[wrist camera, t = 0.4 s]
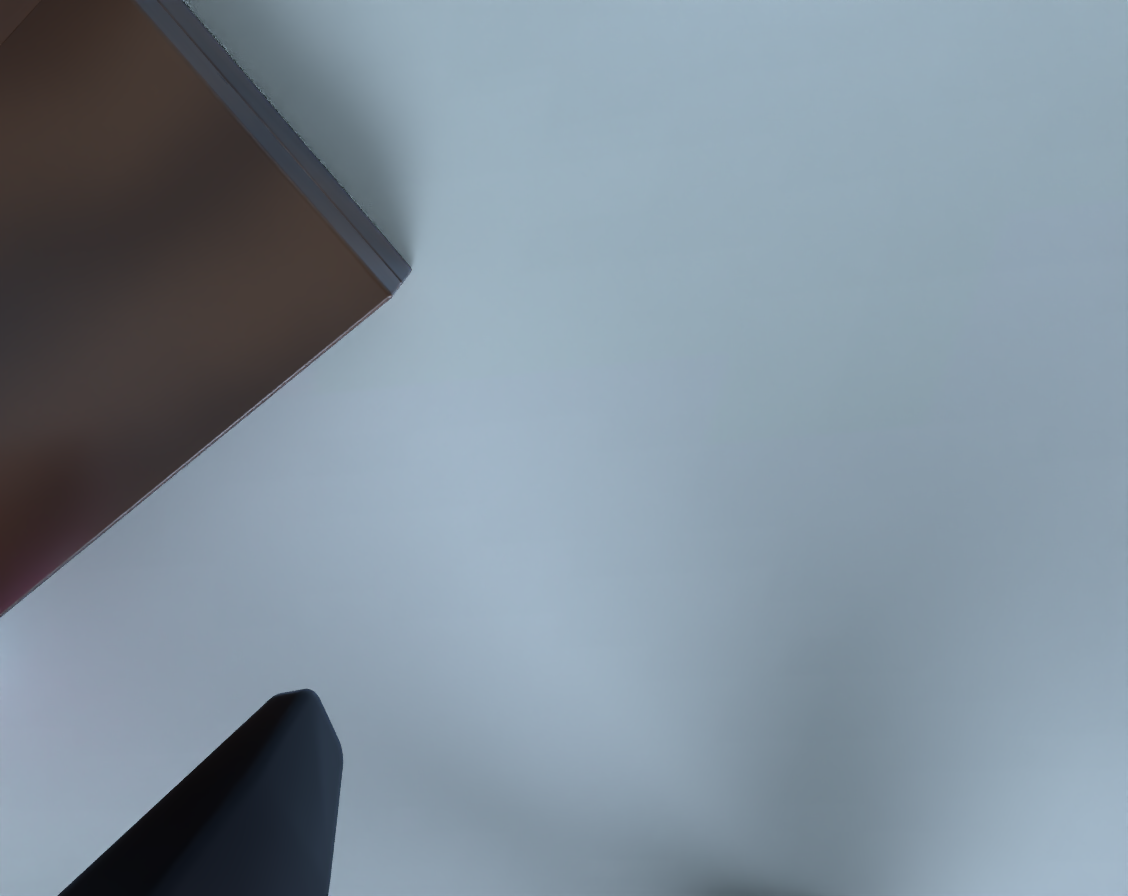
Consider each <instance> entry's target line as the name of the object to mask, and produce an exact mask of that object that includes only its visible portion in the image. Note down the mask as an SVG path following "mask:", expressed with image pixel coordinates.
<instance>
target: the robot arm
mask: <svg viewBox="0 0 1128 896" xmlns="http://www.w3.org/2000/svg"><path fill="white" fill-rule="evenodd" d="M342 770H343V753H342V748H341V744H340V741H339V739H338V737H337V735H336V732H335V730H334V728H333V726H332V724H331V722H330V720H329V717H328V715H327V713H326V711H325V709H324V707H323V704H322V702H321V700H320V698H319V697H318V695H317V694H316V693H315V692H314V691H312V690H310V689H302V690H296V691H291V692H285V693H280V694H277V695H275V696H273V697H272V698H271V699H269V700H268V701H267V702H266V703H265V704H264V705H263V706H262V707H261V708H260V709H259V710H258V711H257V712H255V713H254V714H253V715H252V716H251V717H250V718H249V719H248V720H247V721H246V722H245V723H244V724H242V725H241V726H240V727H239V728H238V729H237V730H236V731H235V732H234V733H233V734H232V735H231V736H230V737H228V738H227V739H226V740H225V741H224V742H223V743H222V744H221V745H220V746H219V747H218V748H217V749H216V750H214V751H213V752H212V753H211V754H210V755H209V756H208V757H207V758H206V759H205V760H204V761H203V762H201V763H200V764H199V765H198V766H197V767H196V768H195V769H194V770H193V771H192V772H191V773H190V774H188V775H187V776H186V777H185V778H184V779H183V780H182V781H181V782H180V783H179V784H178V785H177V786H176V787H174V788H173V789H172V790H171V791H170V792H169V793H168V794H167V795H166V796H165V797H164V798H163V799H161V800H160V801H159V802H158V803H157V804H156V805H155V806H154V807H153V808H152V809H151V810H150V811H149V812H147V813H146V814H145V815H144V816H143V817H142V818H141V819H140V820H139V821H138V822H137V823H136V824H134V825H133V826H132V827H131V828H130V829H129V830H128V831H127V832H126V833H125V834H124V835H123V836H122V837H120V838H119V839H118V840H117V841H116V842H115V843H114V844H113V845H112V846H111V847H110V848H109V849H107V850H106V851H105V852H104V853H103V854H102V855H101V856H100V857H99V858H98V859H97V860H96V861H95V862H93V863H92V864H91V865H90V866H89V867H88V868H87V869H86V870H85V871H84V872H83V873H82V874H80V875H79V876H78V877H77V878H76V879H75V880H74V881H73V882H72V883H71V884H70V885H69V886H68V887H66V888H65V889H64V890H63V891H62V892H61V893H60V894H59V895H58V896H328V892H329V885H330V878H331V869H332V860H333V851H334V842H335V833H336V824H337V815H338V806H339V797H340V788H341V779H342Z"/></svg>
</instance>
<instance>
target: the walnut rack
mask: <svg viewBox="0 0 1128 896" xmlns="http://www.w3.org/2000/svg"><path fill="white" fill-rule="evenodd" d="M411 271H412V269H411V267H410V266H409V265H408V264H407V263H406V261H405V260H404V259H403V258H402V257H401V255H400V254H399V253H398V252H397V251H396V250H395V248H394V247H393V246H392V245H391V244H390V243H389V241H388V240H387V239H386V238H385V237H384V236H383V234H382V233H381V232H380V231H379V230H378V229H377V227H376V226H375V225H374V224H373V223H372V222H371V220H370V219H369V218H368V217H367V216H366V215H365V213H364V212H363V211H362V210H361V209H360V208H359V206H358V205H357V204H356V203H355V202H354V201H353V199H352V198H351V197H350V196H349V195H348V194H347V192H346V191H345V190H344V189H343V188H342V187H341V185H340V184H339V183H338V182H337V181H336V180H335V178H334V177H333V176H332V175H331V174H330V173H329V171H328V170H327V169H326V168H325V167H324V166H323V164H322V163H321V162H320V161H319V160H318V159H317V157H316V156H315V155H314V154H313V153H312V152H311V150H310V149H309V148H308V147H307V146H306V145H305V143H304V142H303V141H302V140H301V139H300V138H299V136H298V135H297V134H296V133H295V132H294V131H293V129H292V128H291V127H290V126H289V125H288V124H287V122H286V121H285V120H284V119H283V118H282V117H281V115H280V114H279V113H278V112H277V111H276V109H275V108H274V107H273V106H272V105H271V104H270V102H269V101H268V100H267V99H266V98H265V97H264V95H263V94H262V93H261V92H260V91H259V90H258V88H257V87H256V86H255V85H254V84H253V83H252V81H251V80H250V79H249V78H248V77H247V76H246V74H245V73H244V72H243V71H242V70H241V69H240V67H239V66H238V65H237V64H236V63H235V62H234V60H233V59H232V58H231V57H230V56H229V55H228V53H227V52H226V51H225V50H224V49H223V48H222V46H221V45H220V44H219V43H218V42H217V41H216V39H215V38H214V37H213V36H212V35H211V34H210V32H209V31H208V30H207V29H206V28H205V27H204V25H203V24H202V23H201V22H200V21H199V20H198V18H197V17H196V16H195V15H194V14H193V13H192V11H191V10H190V9H189V8H188V7H187V6H186V4H185V3H184V2H183V1H182V0H0V618H1V617H2V616H3V615H4V614H5V613H7V612H8V611H9V610H10V609H12V608H13V607H14V606H15V605H16V604H18V603H19V602H20V601H21V600H23V599H24V598H25V597H26V596H27V595H29V594H30V593H31V592H32V591H34V590H35V589H36V588H37V587H38V586H40V585H41V584H42V583H43V582H45V581H46V580H47V579H48V578H49V577H51V576H52V575H53V574H54V573H56V572H57V571H58V570H59V569H60V568H62V567H63V566H64V565H65V564H67V563H68V562H69V561H70V560H71V559H73V558H74V557H75V556H76V555H78V554H79V553H80V552H81V551H82V550H84V549H85V548H86V547H87V546H89V545H90V544H91V543H92V542H93V541H95V540H96V539H97V538H98V537H100V536H101V535H102V534H103V533H105V532H106V531H107V530H108V529H109V528H111V527H112V526H113V525H114V524H116V523H117V522H118V521H119V520H120V519H122V518H123V517H124V516H125V515H127V514H128V513H129V512H130V511H131V510H133V509H134V508H135V507H136V506H138V505H139V504H140V503H141V502H142V501H144V500H145V499H146V498H147V497H149V496H150V495H151V494H152V493H153V492H155V491H156V490H157V489H158V488H160V487H161V486H162V485H163V484H164V483H166V482H167V481H168V480H169V479H171V478H172V477H173V476H174V475H175V474H177V473H178V472H179V471H180V470H182V469H183V468H184V467H185V466H186V465H188V464H189V463H190V462H191V461H193V460H194V459H195V458H196V457H197V456H199V455H200V454H201V453H202V452H204V451H205V450H206V449H207V448H208V447H210V446H211V445H212V444H213V443H215V442H216V441H217V440H218V439H219V438H221V437H222V436H223V435H224V434H226V433H227V432H228V431H229V430H230V429H232V428H233V427H234V426H235V425H237V424H238V423H239V422H240V421H242V420H243V419H244V418H245V417H246V416H248V415H249V414H250V413H251V412H253V411H254V410H255V409H256V408H257V407H259V406H260V405H261V404H262V403H264V402H265V401H266V400H267V399H268V398H270V397H271V396H272V395H273V394H275V393H276V392H277V391H278V390H279V389H281V388H282V387H283V386H284V385H286V384H287V383H288V382H289V381H290V380H292V379H293V378H294V377H295V376H297V375H298V374H299V373H300V372H301V371H303V370H304V369H305V368H306V367H308V366H309V365H310V364H311V363H312V362H314V361H315V360H316V359H317V358H319V357H320V356H321V355H322V354H323V353H325V352H326V351H327V350H328V349H330V348H331V347H332V346H333V345H334V344H336V343H337V342H338V341H339V340H341V339H342V338H343V337H344V336H345V335H347V334H348V333H349V332H350V331H352V330H353V329H354V328H355V327H356V326H358V325H359V324H360V323H361V322H363V321H364V320H365V319H366V318H367V317H369V316H370V315H371V314H372V313H374V312H375V311H376V310H377V309H379V308H380V307H381V306H382V305H383V304H385V303H386V302H387V301H388V300H390V299H391V298H392V296H393V295H394V294H395V292H396V291H397V290H398V288H399V287H400V285H402V283H403V282H404V281H405V279H406V278H407V277H408V275H409V274H410V272H411Z"/></svg>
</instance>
